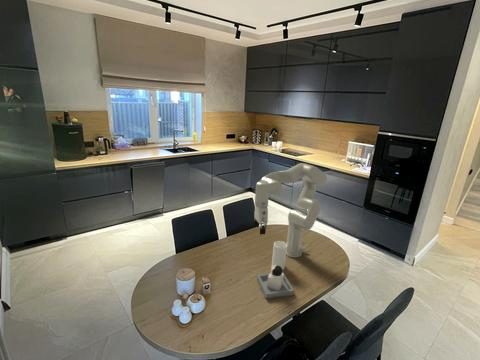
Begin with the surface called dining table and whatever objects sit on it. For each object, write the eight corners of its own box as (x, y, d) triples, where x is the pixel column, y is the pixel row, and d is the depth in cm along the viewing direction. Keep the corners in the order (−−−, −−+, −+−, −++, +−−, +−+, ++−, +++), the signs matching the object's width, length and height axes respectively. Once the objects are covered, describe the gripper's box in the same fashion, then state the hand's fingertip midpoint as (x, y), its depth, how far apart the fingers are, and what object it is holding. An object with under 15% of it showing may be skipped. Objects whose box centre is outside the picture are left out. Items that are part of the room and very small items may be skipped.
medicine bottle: (282, 284, 146) (285, 266, 143) (279, 291, 140) (281, 273, 136) (271, 279, 149) (272, 262, 146) (266, 287, 143) (268, 269, 139)
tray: (282, 275, 154) (282, 271, 153) (293, 294, 139) (294, 290, 138) (256, 279, 150) (257, 274, 149) (265, 299, 135) (266, 294, 134)
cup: (285, 264, 165) (288, 242, 160) (283, 272, 158) (286, 249, 153) (273, 261, 167) (275, 239, 163) (270, 268, 160) (272, 246, 155)
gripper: (273, 208, 138) (271, 236, 143) (262, 197, 154) (260, 222, 159) (260, 209, 136) (258, 238, 141) (250, 197, 152) (248, 223, 157)
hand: (259, 229), depth 150 cm, fingers open, 9 cm apart
